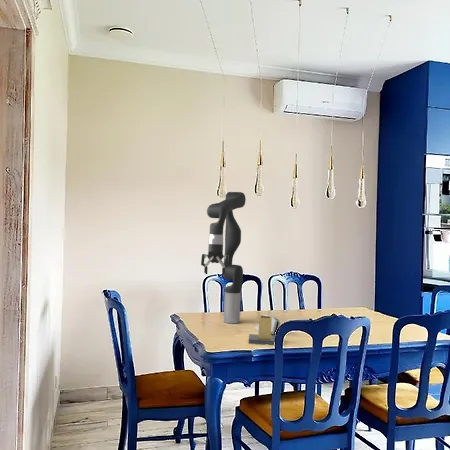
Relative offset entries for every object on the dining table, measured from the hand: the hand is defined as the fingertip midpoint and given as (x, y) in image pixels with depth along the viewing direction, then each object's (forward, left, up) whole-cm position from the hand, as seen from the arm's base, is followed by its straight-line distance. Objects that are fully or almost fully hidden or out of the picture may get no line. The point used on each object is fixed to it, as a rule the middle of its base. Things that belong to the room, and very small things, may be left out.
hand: (214, 274), depth 245 cm
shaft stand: (+12, +27, -30) cm, 42 cm away
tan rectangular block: (+12, +27, -28) cm, 41 cm away
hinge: (-10, +29, -30) cm, 43 cm away
